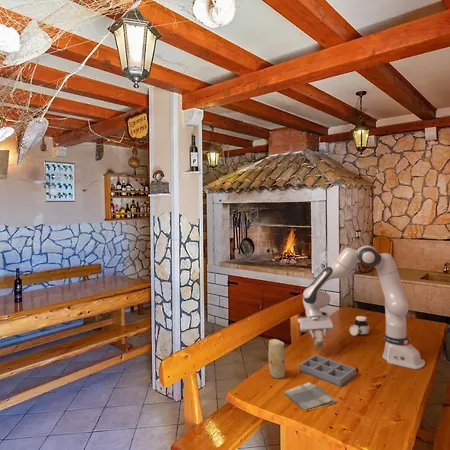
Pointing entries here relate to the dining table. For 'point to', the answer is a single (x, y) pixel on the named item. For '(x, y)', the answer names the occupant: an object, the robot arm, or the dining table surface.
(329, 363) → the gray compartment tray
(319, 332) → the egg
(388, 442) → the dining table surface
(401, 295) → the robot arm
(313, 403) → the dish towel
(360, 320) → the spread jar
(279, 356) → the food model
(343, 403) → the dining table surface
